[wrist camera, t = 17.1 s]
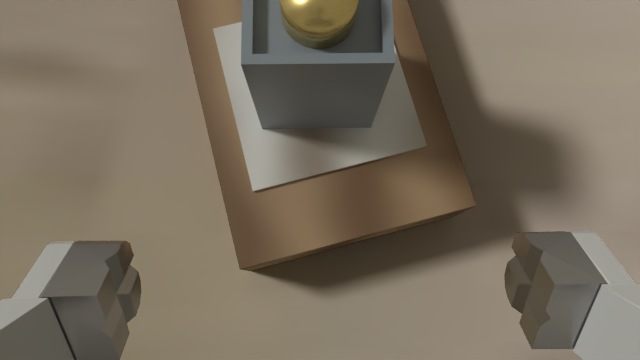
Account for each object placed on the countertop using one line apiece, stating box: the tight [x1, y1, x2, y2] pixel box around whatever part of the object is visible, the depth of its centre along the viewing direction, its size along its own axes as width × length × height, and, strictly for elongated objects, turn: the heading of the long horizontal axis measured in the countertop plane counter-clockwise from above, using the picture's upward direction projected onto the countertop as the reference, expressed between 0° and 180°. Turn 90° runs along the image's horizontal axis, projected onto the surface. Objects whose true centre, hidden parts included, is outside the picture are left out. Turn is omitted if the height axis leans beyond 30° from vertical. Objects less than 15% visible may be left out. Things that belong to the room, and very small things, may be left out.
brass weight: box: [279, 0, 359, 49], centre depth 18 cm, size 3×3×2 cm
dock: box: [177, 0, 476, 271], centre depth 28 cm, size 12×17×4 cm
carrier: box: [241, 0, 395, 129], centre depth 22 cm, size 6×4×8 cm
